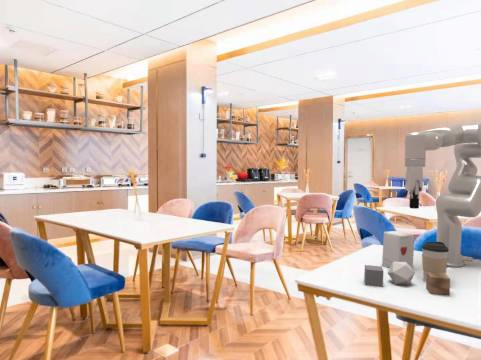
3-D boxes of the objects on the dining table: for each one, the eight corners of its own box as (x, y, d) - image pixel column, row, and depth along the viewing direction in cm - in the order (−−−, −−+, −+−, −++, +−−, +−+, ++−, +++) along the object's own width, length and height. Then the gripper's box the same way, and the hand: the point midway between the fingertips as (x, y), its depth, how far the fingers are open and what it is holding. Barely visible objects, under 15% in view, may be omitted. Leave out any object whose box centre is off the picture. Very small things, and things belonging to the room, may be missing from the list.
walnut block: (444, 290, 128) (445, 273, 127) (449, 296, 122) (450, 278, 122) (426, 288, 129) (426, 272, 129) (429, 294, 124) (430, 277, 123)
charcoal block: (381, 282, 135) (381, 266, 135) (382, 287, 130) (383, 271, 129) (364, 280, 137) (364, 264, 137) (365, 285, 131) (365, 269, 131)
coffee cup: (437, 287, 131) (439, 246, 130) (415, 279, 139) (416, 241, 138) (452, 283, 135) (454, 244, 134) (430, 276, 143) (431, 239, 142)
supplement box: (398, 271, 149) (399, 235, 148) (381, 265, 157) (382, 231, 156) (413, 268, 153) (415, 234, 152) (396, 263, 161) (398, 230, 160)
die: (411, 290, 128) (422, 267, 131) (389, 277, 130) (400, 254, 132) (401, 290, 136) (411, 268, 139) (380, 278, 137) (391, 256, 140)
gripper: (401, 162, 153) (400, 205, 155) (408, 164, 139) (407, 210, 140) (420, 162, 151) (420, 205, 153) (429, 163, 137) (428, 211, 138)
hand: (414, 208), depth 146 cm, fingers closed
